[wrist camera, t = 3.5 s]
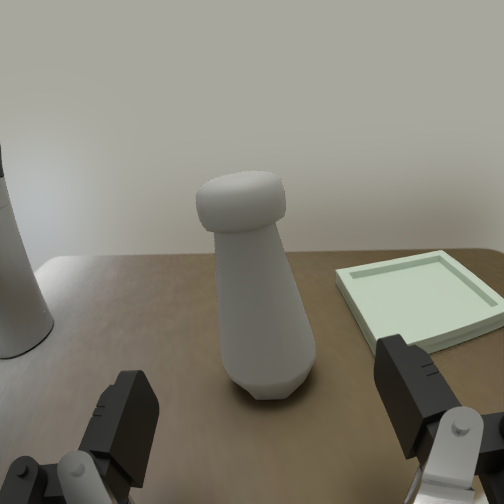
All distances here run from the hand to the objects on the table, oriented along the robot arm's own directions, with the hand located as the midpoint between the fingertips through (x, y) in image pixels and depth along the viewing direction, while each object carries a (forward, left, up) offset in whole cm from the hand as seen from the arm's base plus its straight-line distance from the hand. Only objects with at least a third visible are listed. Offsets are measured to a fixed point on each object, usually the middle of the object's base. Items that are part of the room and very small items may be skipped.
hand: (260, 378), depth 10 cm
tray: (+13, +12, -7) cm, 20 cm away
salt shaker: (0, +7, -8) cm, 11 cm away
